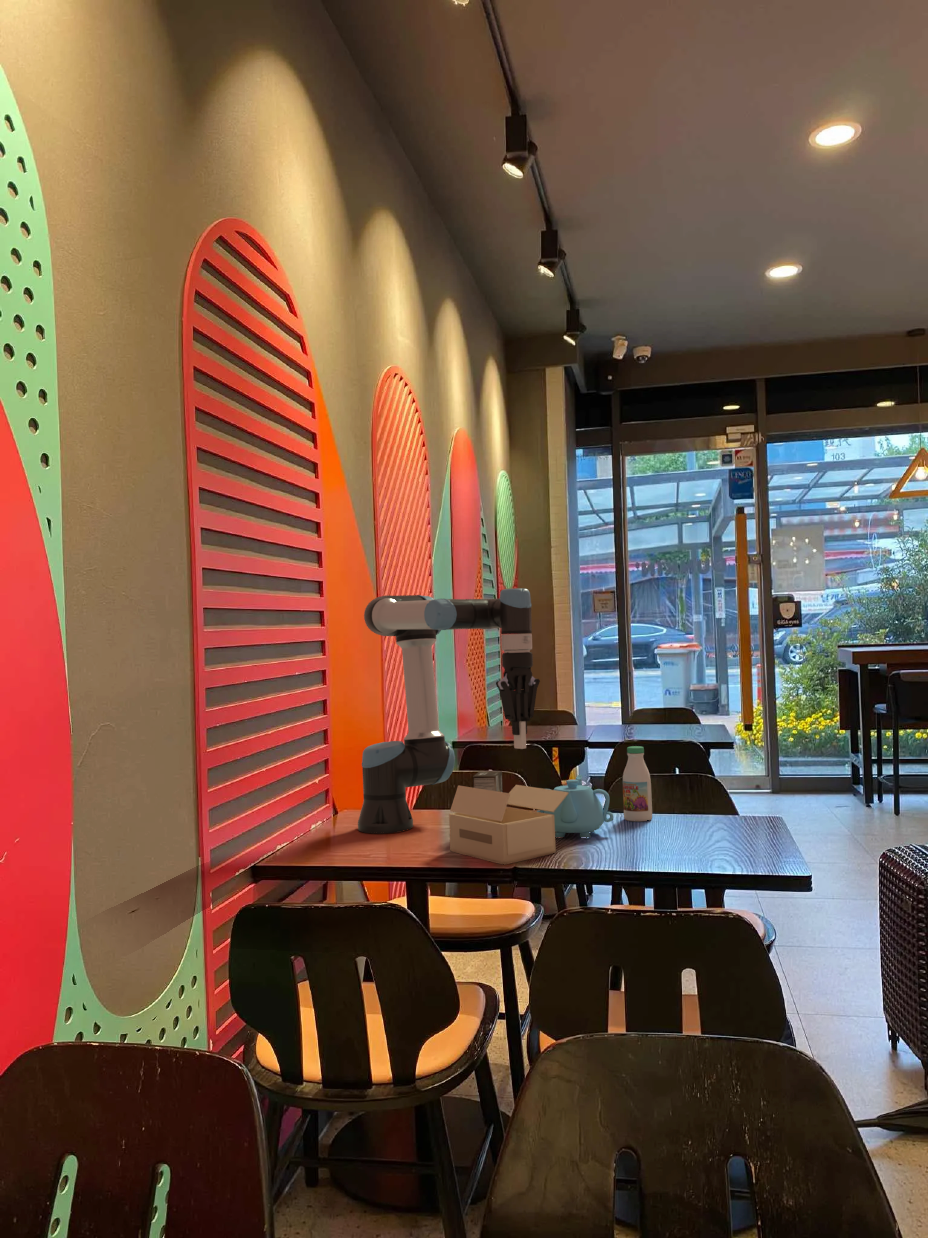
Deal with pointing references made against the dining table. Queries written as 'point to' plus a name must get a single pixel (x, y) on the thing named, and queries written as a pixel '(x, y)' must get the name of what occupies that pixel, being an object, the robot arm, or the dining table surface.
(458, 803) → the near flap
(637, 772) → the milk bottle
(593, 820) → the teapot
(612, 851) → the dining table surface
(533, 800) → the far flap
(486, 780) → the coffee box
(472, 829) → the carton
